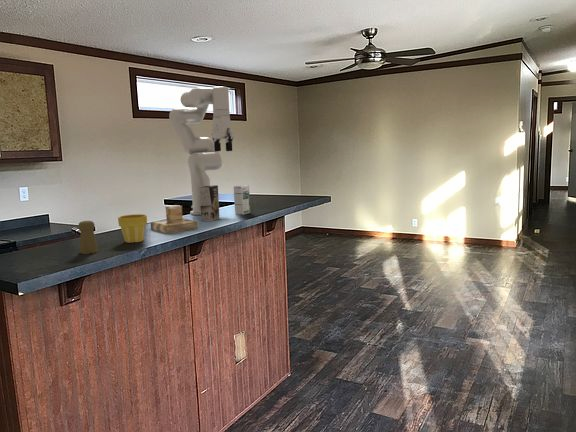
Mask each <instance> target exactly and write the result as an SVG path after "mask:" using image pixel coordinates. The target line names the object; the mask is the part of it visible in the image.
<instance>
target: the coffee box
mask: <svg viewBox="0 0 576 432" xmlns="http://www.w3.org/2000/svg"><path fill="white" fill-rule="evenodd" d="M199 188H200V208H201V215H200V221H201V222H214V221H216V220H219V219H220V217H221V216H220V203H219V185H210V186H203V187H199Z"/></svg>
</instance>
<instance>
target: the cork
mask: <svg viewBox="0 0 576 432" xmlns="http://www.w3.org/2000/svg"><path fill="white" fill-rule="evenodd" d="M95 226H96V225H95V223H94V221H93V220H83V221H80V222H79V223H78V226H77V227H78V230H79V231H80V235H79V236H80V237H79V239H80V241H79V254H80V253H82V254H81V255H90V254H89V253H92V254H96V253H98V252H99V248H98V244H97V241H96V236H95V232H94V229H95ZM95 252H96V253H95Z"/></svg>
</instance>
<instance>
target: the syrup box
mask: <svg viewBox="0 0 576 432" xmlns="http://www.w3.org/2000/svg"><path fill="white" fill-rule="evenodd" d="M233 198H234V199H233V200H234V214H235V215H241V214H242V215H248V214H250V213H251V198H250V185H248V184H247V185H246V184H242V185H234V186H233Z"/></svg>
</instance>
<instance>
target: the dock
mask: <svg viewBox="0 0 576 432" xmlns="http://www.w3.org/2000/svg"><path fill="white" fill-rule="evenodd" d="M182 219H183V222H180V223H173V224H171V223H167V220H162V221H151V222H150V230H153V231H157V232H161V233H165V234H174V233H178V232H179V233H180V232H185V231H191V230H198V227H199V226H198V221H197V220H194V219H189V218H184V217H182Z"/></svg>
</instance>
